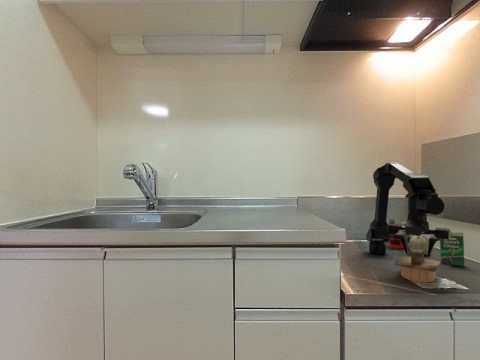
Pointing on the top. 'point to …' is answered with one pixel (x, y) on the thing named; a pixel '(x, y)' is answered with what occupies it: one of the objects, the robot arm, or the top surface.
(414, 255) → the lid
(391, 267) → the mat
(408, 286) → the top surface
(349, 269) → the top surface
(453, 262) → the coffee box
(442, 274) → the top surface
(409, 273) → the bowl
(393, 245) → the canned food
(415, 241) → the garlic bulb
